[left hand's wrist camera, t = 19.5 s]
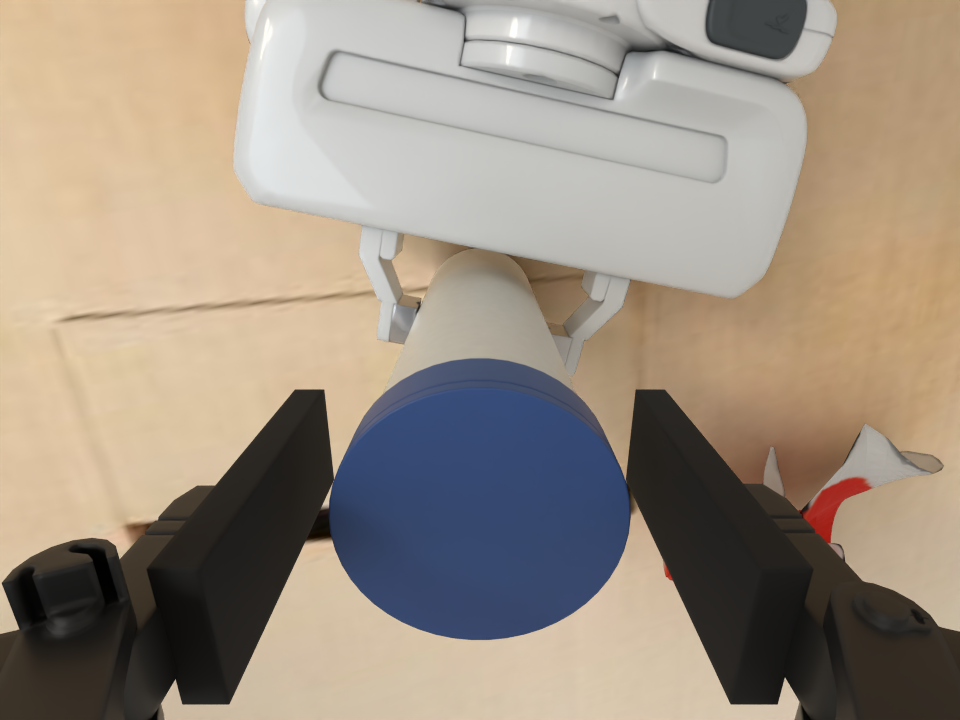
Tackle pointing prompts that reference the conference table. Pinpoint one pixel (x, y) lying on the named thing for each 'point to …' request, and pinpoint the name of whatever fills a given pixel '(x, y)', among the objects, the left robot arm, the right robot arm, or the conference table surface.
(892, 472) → the fish
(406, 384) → the lid
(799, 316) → the conference table surface
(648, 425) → the left robot arm
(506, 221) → the right robot arm
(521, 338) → the jar
